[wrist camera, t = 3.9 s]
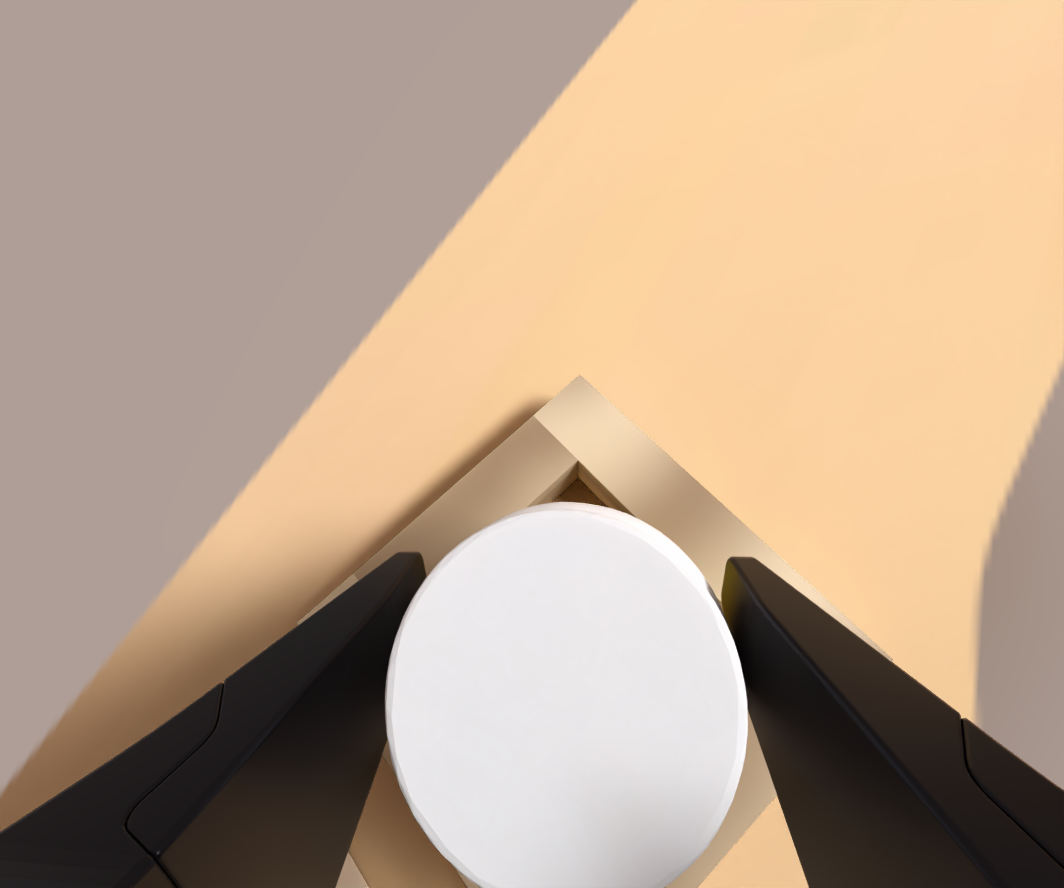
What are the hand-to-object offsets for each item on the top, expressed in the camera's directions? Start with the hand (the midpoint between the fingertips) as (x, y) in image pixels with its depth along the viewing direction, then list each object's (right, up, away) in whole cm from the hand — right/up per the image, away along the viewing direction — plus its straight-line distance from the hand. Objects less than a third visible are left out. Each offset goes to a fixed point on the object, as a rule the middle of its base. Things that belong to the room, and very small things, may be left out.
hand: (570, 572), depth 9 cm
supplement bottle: (+1, -4, +6) cm, 7 cm away
